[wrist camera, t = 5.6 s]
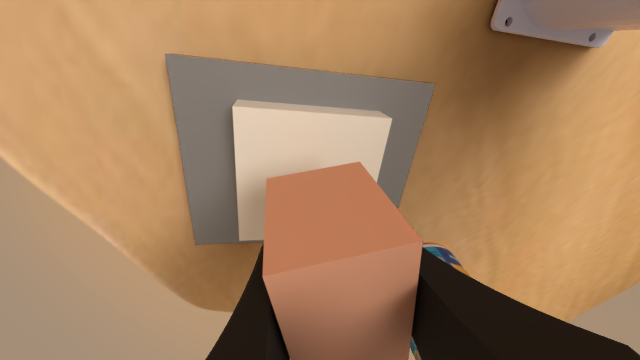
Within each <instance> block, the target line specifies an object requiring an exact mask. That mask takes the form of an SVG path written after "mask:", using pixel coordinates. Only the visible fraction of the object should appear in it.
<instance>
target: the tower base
mask: <svg viewBox="0 0 640 360" xmlns="http://www.w3.org/2000/svg"><path fill="white" fill-rule="evenodd" d="M165 56H166V62H167V69H168V75H169V81H170V88H171V94H172V100H173V106H174V113H175V119H176V125H177V131H178V138H179V144H180V150H181V157H182V163H183V169H184V175H185V182H186V188H187V194H188V200H189V207H190V213H191V219H192V226H193V232H194V238H195V244H196V245H199V244H229V243H259V242H264V228H265V203H266V179H267V178H272V177H277V176H283V175H288V174H294V173H299V172H305V171H310V170H316V169H321V168H327V167H332V166H338V165H343V164H349V163H354V162H361V164H362V165H363V166H364V167H365V169H366V170H367V171H368V172H369V174H370V175H371V176H372V178H373V179H374V180H375V181H376V183H377V184H378V185H379V186H380V188H381V189H382V190H383V191H384V193H385V194H386V195H387V196H388V198H389V199H390V200H391V202H392V203H393V204H394V205H395V207H396V208H397V209H398V206H399V202H400V199H401V196H402V193H403V189H404V186H405V183H406V180H407V176H408V173H409V170H410V167H411V163H412V160H413V157H414V154H415V150H416V147H417V144H418V141H419V137H420V134H421V131H422V127H423V124H424V121H425V118H426V114H427V111H428V108H429V105H430V101H431V98H432V95H433V92H434V88H435V85H436V84H432V83H427V82H419V81H410V80H401V79H392V78H383V77H374V76H365V75H356V74H348V73H339V72H330V71H321V70H312V69H303V68H294V67H285V66H276V65H268V64H259V63H250V62H241V61H232V60H223V59H214V58H205V57H196V56H188V55H179V54H165Z"/></svg>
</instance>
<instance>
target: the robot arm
mask: <svg viewBox="0 0 640 360" xmlns="http://www.w3.org/2000/svg"><path fill="white" fill-rule="evenodd" d="M506 19H507V20H508V21H507V24H506V26H505V21H506ZM491 28H492V30H494V31H500V32H506V33H511V34H517V35H523V36H529V37H535V38H540V39H546V40H552V41H558V42H564V43H569V44H575V45H581V46H587V47H593V48H598V47H602V46H603V45H604V44H606V42H607V41H608V39H609V38H610V36H611V34H612V32H613V31H619V30H637V29H640V0H498V3H497V6H496V9H495V11H494V14H493V17H492V20H491ZM263 252H264V244H263V246H262V247H261V250H260V253H259V256H258V259H257V262H256V264H255V267H254V269H253V272H252V274H251V276H250V279H249V281H248V283H247V285H246V288H245V290H244V292H243V294H242V296H241V298H240V300H239V302H238V304H237V306H236V308H235V310H234V312H233V314H232V316H231V318H230V320H229V322H228V323H227V325H226V327H225V329H224V330H223V332H222V334H221V335H220V337H219V339H218V341H217V342H216V344H215V346H214V347H213V349H212V351H211V352H210V354H209V355H208V357H207V358H206V360H290V356H289V353H288V350H287V347H286V344H285V341H284V339H283V336H282V333H281V330H280V327H279V324H278V321H277V318H276V315H275V312H274V309H273V306H272V303H271V300H270V297H269V294H268V291H267V289H266V286H265V283H264V280H263V277H262V276H263ZM411 336H412V338H413V340H414V343H415V345H416V347H417V350H418V352H419V354H420V357H421V359H422V360H640V355H639V354H638V353H636V352H635V351H634V350H633V349H631V348H630V347H629V346H628V345H625V344H623V343H620V342H617V341H614V340H611V339H609V338H606V337H604V336H601V335H598V334H596V333H593V332H590V331H588V330H585V329H582V328H580V327H577V326H574V325H572V324H569V323H567V322H564V321H562V320H560V319H557V318H555V317H552V316H550V315H548V314H545V313H543V312H540V311H538V310H536V309H534V308H531V307H529V306H527V305H525V304H522V303H520V302H518V301H516V300H514V299H512V298H510V297H508V296H506V295H504V294H502V293H500V292H498V291H495V290H494V289H492V288H490V287H488V286H486V285H484V284H482V283H480V282H478V281H477V280H475V279H473V278H471V277H469V276H468V275H466V274H464V273H462V272H461V271H459V270H457V269H456V268H454V267H452V266H451V265H449V264H448V263H446V262H444V261H443V260H441V259H440V258H438V257H437V256H435V255H434V254H432V253H431V252H429V251H428V250H427V249H425V248H424V247H422V253H421V261H420V269H419V277H418V285H417V293H416V301H415V309H414V317H413V325H412V333H411Z"/></svg>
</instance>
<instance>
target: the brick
mask: <svg viewBox="0 0 640 360" xmlns="http://www.w3.org/2000/svg"><path fill="white" fill-rule="evenodd" d="M422 245H423V241H422V239H421V238H420V237H419V236H418V234H417V233H416V232H415V231H414V229H413V228H412V227H411V225H410V224H409V223H408V222H407V220H406V219H405V218H404V217H403V215H402V214H401V213H400V212H399V210H398V209H397V208H396V207H395V205H394V204H393V203H392V202H391V200H390V199H389V198H388V196H387V195H386V194H385V193H384V191H383V190H382V189H381V188H380V186H379V185H378V184H377V183H376V181H375V180H374V179H373V178H372V176H371V175H370V174H369V172H368V171H367V170H366V169H365V167H364V166H363V165H362V164H361V162H354V163H349V164H343V165H338V166H332V167H327V168H321V169H316V170H310V171H305V172H299V173H294V174H288V175H283V176H277V177H272V178H267V179H266V203H265V228H264V252H263V276H262V277H263V280H264V283H265V286H266V289H267V291H268V294H269V297H270V300H271V303H272V306H273V309H274V312H275V315H276V318H277V321H278V324H279V327H280V330H281V333H282V336H283V339H284V341H285V344H286V347H287V350H288V353H289V356H290V359H291V360H408V357H409V349H410V341H411V333H412V325H413V317H414V309H415V301H416V293H417V285H418V277H419V269H420V261H421V253H422Z"/></svg>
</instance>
